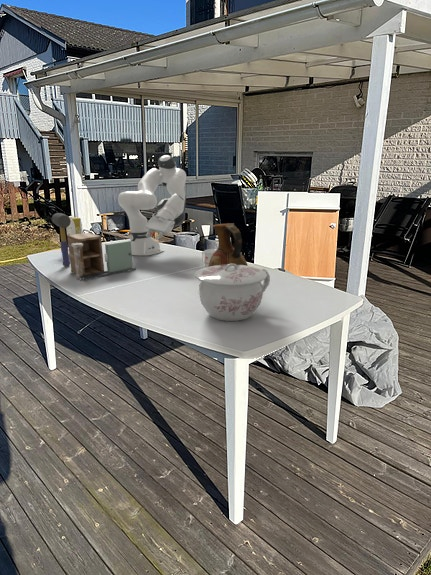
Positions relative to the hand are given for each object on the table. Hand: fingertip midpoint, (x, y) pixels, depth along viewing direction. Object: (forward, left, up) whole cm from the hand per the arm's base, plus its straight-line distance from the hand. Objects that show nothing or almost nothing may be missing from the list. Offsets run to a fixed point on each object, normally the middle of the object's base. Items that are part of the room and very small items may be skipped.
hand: (151, 237), depth 227 cm
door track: (+28, 0, -16) cm, 32 cm away
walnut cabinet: (+37, -8, -16) cm, 41 cm away
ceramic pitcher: (-4, +58, -16) cm, 60 cm away
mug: (-16, +32, -16) cm, 39 cm away
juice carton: (+19, -58, -16) cm, 63 cm away
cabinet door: (+21, 0, -16) cm, 26 cm away
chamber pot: (+22, +86, -16) cm, 90 cm away
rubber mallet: (+38, -30, -16) cm, 51 cm away
